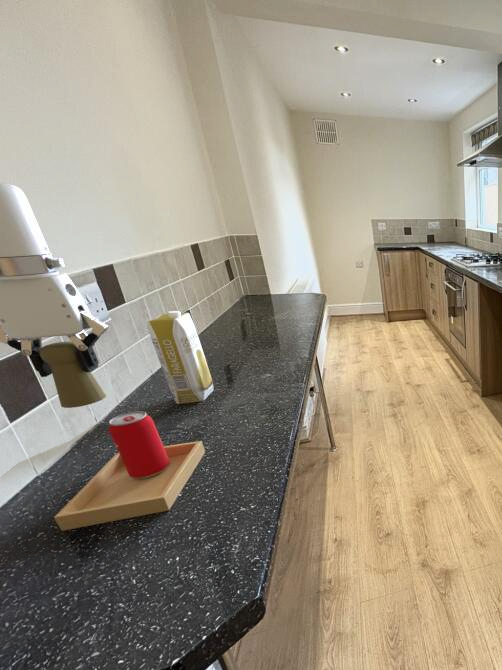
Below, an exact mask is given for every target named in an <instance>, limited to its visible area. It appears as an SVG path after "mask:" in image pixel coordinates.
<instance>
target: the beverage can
mask: <svg viewBox="0 0 502 670" xmlns="http://www.w3.org/2000/svg"><path fill="white" fill-rule="evenodd" d="M108 424H109V427H108V432H109V435H110V437H111V439H112V441H113V444H114V446H115V448H116V450H117V453H119V454H120V457H121V459H122V461H123V463H124V465H125V467H126V469H127V472H128V474H129V476H130V477H133V478H141V479H142V478H149V477H152V476H155V475H157V474H159V473H161V472H163V471H164V470H165V469H166V468H167V467H168V466H169V464H170V461H169V458H168V456H167V454H166V451H165V449H164V446H165V445H164V444H163V441H162V439H161V437H160V435H159V432H158V429H157V427H156V425H155V422H154V420H153V418H152V417H151V416H149V414H147V412H145V411H143V410H136V411H135V410H134V411H129V412H126V413H122V414H119V415H117V416H114V417H112V418H111V419H110V420H109V421H108Z"/></svg>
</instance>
